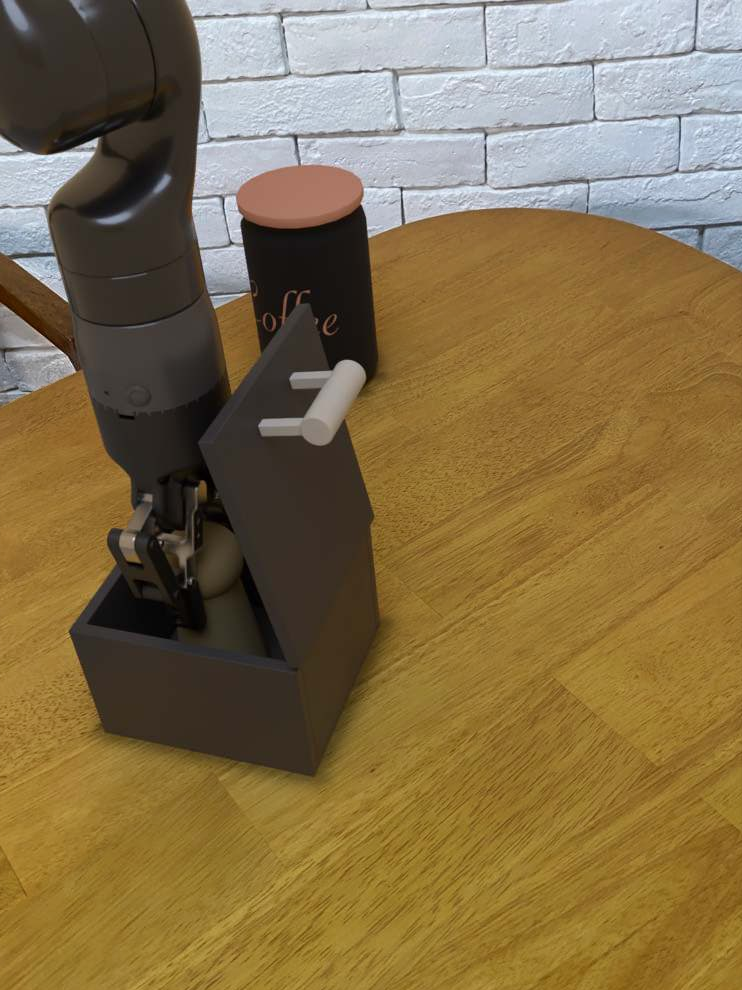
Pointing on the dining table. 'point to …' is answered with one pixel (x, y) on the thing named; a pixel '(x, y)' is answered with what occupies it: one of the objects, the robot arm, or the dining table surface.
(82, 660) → the dark brown wooden box
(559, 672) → the dining table surface
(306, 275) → the coffee jar
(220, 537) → the tan peg doll
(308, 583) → the lid
